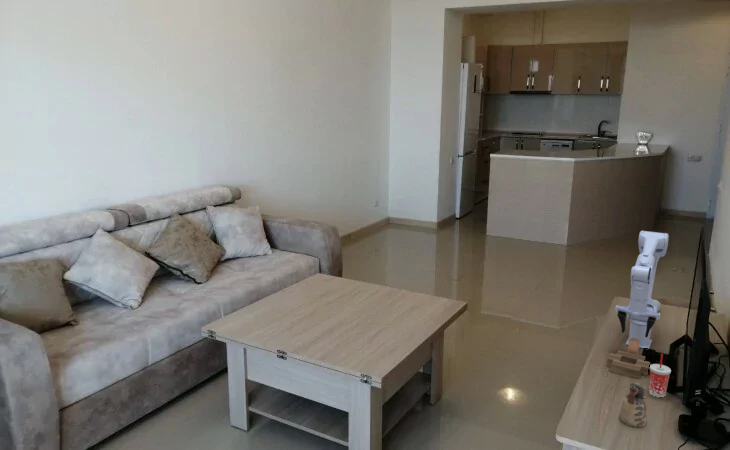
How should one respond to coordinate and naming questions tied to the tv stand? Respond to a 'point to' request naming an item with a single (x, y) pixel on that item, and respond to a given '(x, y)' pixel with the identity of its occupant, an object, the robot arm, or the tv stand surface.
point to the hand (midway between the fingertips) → (634, 333)
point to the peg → (633, 346)
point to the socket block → (628, 364)
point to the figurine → (634, 407)
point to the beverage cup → (659, 379)
